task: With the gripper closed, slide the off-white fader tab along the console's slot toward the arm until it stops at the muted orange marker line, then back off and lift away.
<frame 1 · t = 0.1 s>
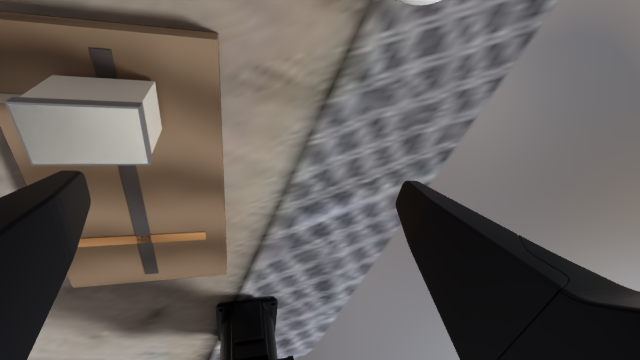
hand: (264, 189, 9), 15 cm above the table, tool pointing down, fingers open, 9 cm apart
fader tab: (99, 118, 17), point 4 cm above the table, slide at 6.0 cm
fader console: (138, 170, 24), on the table
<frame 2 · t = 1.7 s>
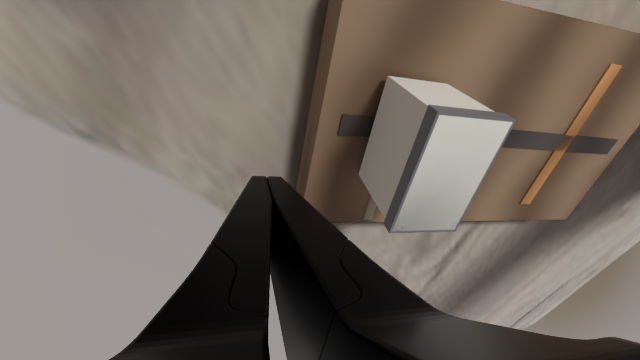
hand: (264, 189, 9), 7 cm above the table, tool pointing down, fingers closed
fader tab: (421, 153, 14), point 4 cm above the table, slide at 6.0 cm
fader console: (473, 121, 19), on the table
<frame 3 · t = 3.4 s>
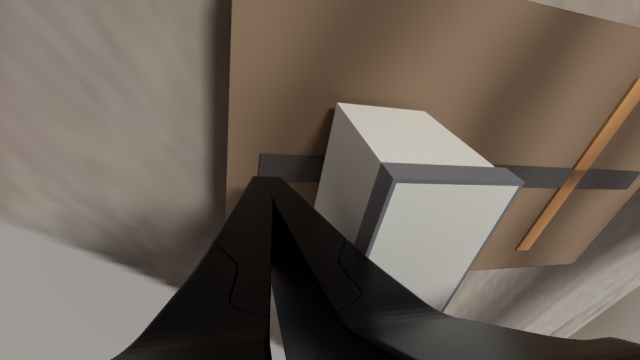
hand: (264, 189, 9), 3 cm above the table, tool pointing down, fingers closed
fader tab: (385, 213, 9), point 4 cm above the table, slide at 5.4 cm, touching gripper
fader console: (455, 150, 15), on the table
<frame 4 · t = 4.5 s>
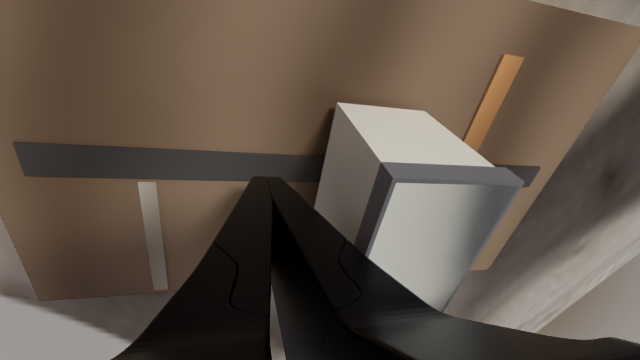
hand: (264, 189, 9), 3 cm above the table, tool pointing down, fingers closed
fader tab: (385, 213, 9), point 4 cm above the table, slide at -0.9 cm, touching gripper
fader console: (322, 142, 13), on the table
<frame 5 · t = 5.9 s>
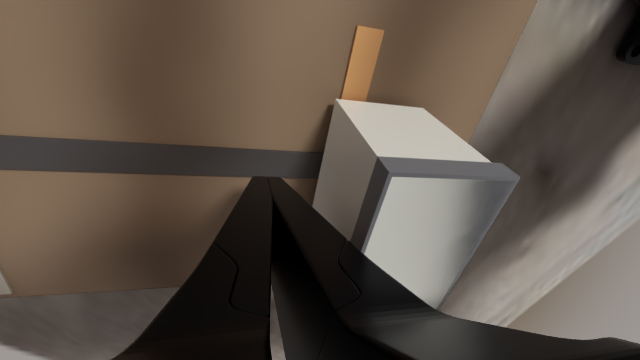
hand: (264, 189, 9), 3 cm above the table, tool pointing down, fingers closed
fader tab: (383, 209, 10), point 4 cm above the table, slide at -5.8 cm, touching gripper
fader console: (189, 130, 11), on the table
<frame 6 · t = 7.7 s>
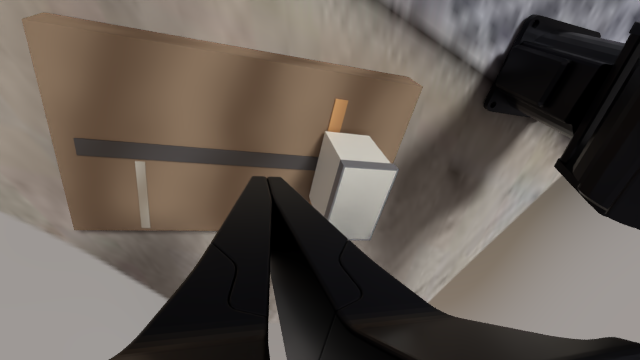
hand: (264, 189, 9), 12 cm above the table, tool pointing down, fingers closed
fader tab: (347, 185, 20), point 4 cm above the table, slide at -5.9 cm
fader console: (246, 143, 21), on the table
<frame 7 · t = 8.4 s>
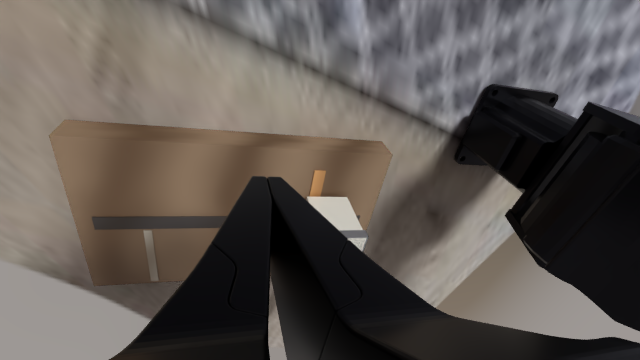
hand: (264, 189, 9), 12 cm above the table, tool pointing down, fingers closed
fader tab: (327, 243, 22), point 4 cm above the table, slide at -5.9 cm
fader console: (240, 203, 24), on the table
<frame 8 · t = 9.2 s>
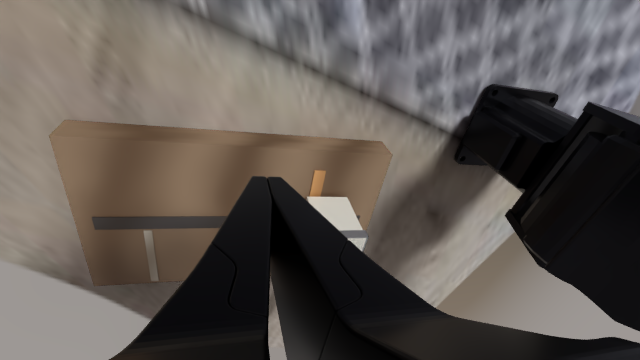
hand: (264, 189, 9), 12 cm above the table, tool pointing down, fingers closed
fader tab: (327, 243, 22), point 4 cm above the table, slide at -5.9 cm
fader console: (240, 203, 24), on the table
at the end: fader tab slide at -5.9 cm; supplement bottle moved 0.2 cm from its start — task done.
